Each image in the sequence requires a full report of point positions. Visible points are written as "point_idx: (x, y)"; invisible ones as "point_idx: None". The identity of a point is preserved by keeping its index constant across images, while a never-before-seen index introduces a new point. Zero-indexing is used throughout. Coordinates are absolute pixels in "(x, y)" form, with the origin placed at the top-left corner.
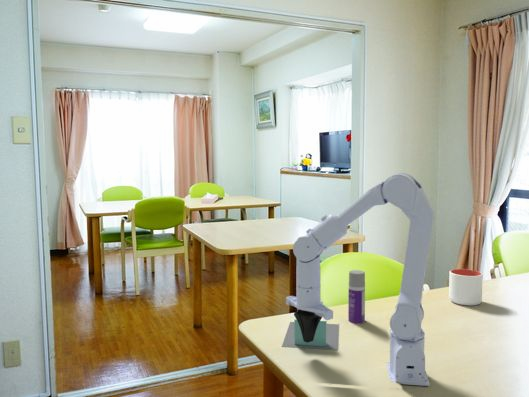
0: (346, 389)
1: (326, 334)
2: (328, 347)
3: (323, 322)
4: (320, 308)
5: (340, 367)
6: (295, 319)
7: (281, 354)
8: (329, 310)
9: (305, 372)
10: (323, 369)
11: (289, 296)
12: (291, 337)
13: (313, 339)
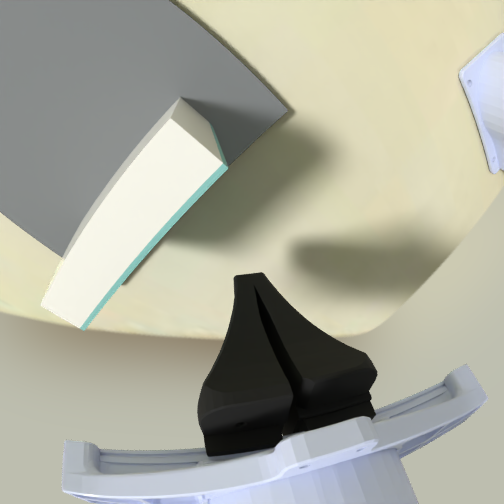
0: (429, 267)
1: (188, 111)
2: (231, 126)
3: (209, 182)
4: (419, 442)
5: (372, 201)
6: (82, 325)
7: (158, 304)
8: (467, 406)
9: (312, 303)
10: (340, 254)
11: (78, 497)
12: (40, 213)
13: (266, 277)
